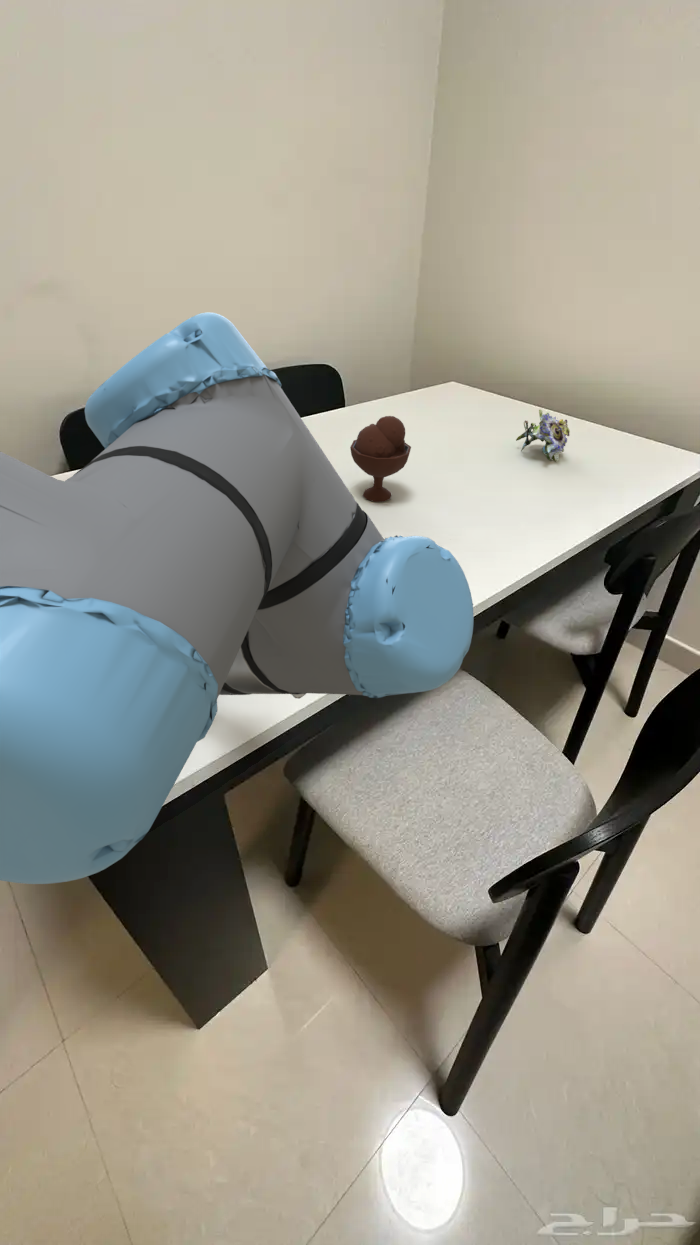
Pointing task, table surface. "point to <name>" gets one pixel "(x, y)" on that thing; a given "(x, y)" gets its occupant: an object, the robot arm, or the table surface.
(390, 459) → the ice cream bowl
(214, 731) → the table surface
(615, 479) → the table surface
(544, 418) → the passion flower
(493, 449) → the table surface
